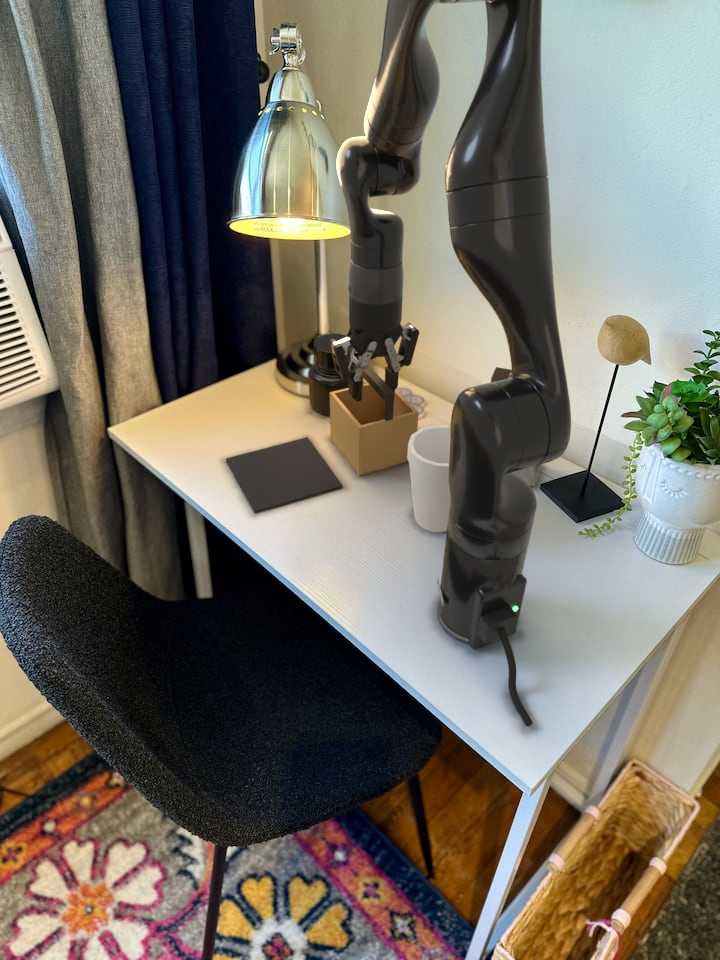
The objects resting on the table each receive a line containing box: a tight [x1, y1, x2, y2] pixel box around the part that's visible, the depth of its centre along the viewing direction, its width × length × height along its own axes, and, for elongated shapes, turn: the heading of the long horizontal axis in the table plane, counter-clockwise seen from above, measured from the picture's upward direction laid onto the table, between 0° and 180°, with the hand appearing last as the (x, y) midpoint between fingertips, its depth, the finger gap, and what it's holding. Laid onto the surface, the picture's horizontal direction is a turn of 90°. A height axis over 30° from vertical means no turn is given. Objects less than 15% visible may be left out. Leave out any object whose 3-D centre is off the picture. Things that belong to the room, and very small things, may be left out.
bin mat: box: [225, 436, 343, 514], centre depth 112 cm, size 14×14×1 cm
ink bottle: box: [308, 333, 353, 416], centre depth 124 cm, size 10×9×12 cm
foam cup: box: [407, 424, 451, 533], centre depth 100 cm, size 10×9×13 cm
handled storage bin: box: [329, 364, 419, 477], centre depth 113 cm, size 11×10×14 cm
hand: (373, 394), depth 111 cm, fingers open, 5 cm apart
